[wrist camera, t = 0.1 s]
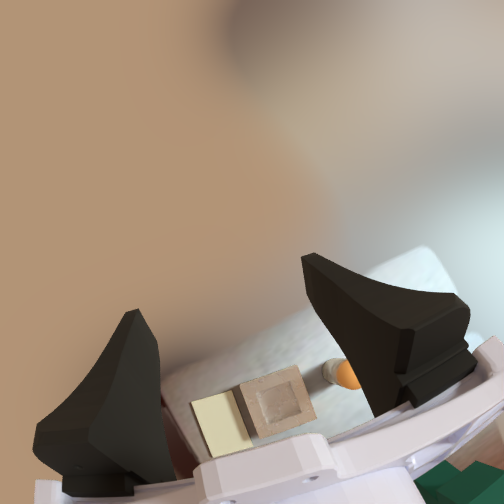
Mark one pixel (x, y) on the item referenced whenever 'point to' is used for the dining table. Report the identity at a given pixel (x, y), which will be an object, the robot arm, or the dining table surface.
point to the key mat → (222, 424)
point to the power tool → (462, 484)
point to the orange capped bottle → (340, 373)
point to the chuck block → (278, 401)
